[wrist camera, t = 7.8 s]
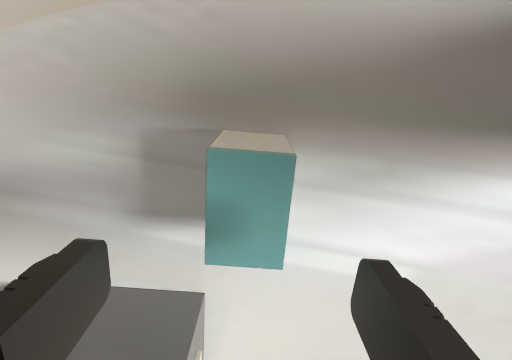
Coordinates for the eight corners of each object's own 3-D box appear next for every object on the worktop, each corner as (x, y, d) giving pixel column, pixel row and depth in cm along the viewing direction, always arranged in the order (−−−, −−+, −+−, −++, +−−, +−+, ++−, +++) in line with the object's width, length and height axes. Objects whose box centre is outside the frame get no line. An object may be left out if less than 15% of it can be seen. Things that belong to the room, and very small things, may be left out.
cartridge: (284, 134, 18) (296, 156, 12) (275, 217, 20) (282, 269, 14) (223, 130, 18) (207, 149, 12) (220, 213, 20) (204, 264, 14)
